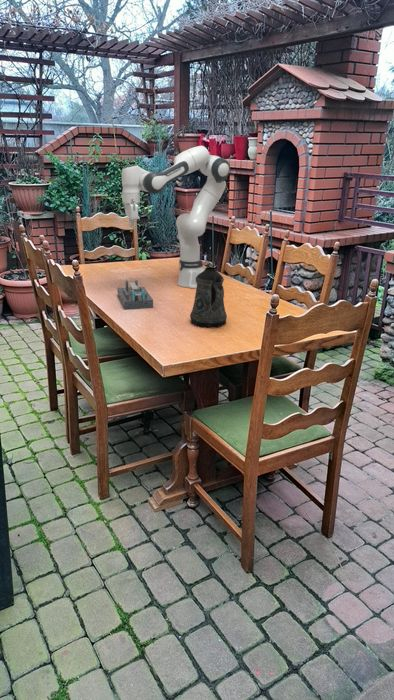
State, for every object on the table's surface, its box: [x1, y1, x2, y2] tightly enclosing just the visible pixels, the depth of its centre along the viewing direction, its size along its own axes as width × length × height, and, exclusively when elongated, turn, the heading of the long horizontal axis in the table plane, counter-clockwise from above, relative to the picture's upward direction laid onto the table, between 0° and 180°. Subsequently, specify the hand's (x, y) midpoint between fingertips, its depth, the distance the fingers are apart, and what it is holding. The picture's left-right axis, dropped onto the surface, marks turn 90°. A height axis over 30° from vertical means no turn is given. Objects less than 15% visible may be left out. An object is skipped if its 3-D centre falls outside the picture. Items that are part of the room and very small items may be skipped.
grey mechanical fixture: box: [117, 279, 154, 310], centre depth 261 cm, size 14×27×8 cm, turn 15°
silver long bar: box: [128, 281, 141, 295], centre depth 259 cm, size 3×23×2 cm, turn 15°
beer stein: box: [189, 266, 228, 329], centre depth 229 cm, size 16×19×25 cm
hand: (132, 226), depth 265 cm, fingers closed
